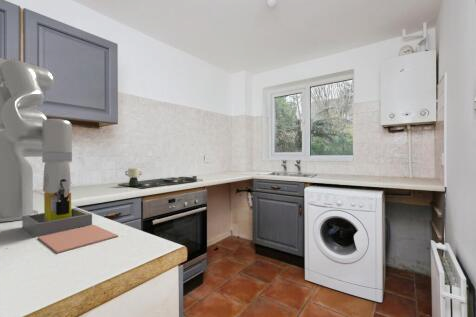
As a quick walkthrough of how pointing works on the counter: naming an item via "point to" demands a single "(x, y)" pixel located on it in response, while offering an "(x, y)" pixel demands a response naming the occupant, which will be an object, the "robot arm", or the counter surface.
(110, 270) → the counter surface
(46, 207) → the supplement box
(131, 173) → the character mug
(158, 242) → the counter surface
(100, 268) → the counter surface
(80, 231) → the mat
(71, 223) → the tray
